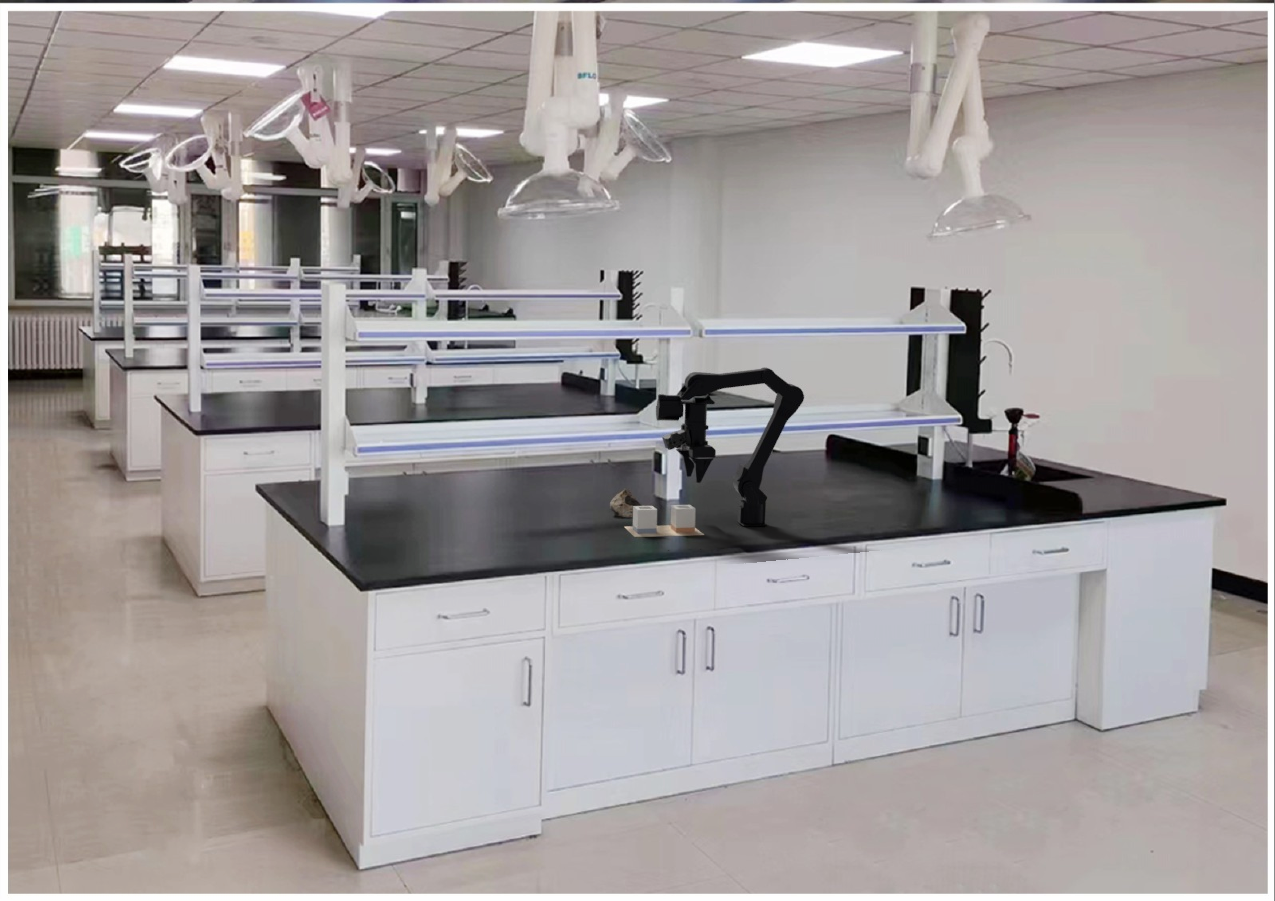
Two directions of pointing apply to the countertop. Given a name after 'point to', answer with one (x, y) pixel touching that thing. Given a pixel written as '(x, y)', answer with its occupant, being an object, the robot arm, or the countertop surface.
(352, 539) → the countertop surface
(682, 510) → the banded sleeve
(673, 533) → the pin board
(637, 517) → the seated sleeve
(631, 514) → the rock
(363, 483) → the countertop surface
